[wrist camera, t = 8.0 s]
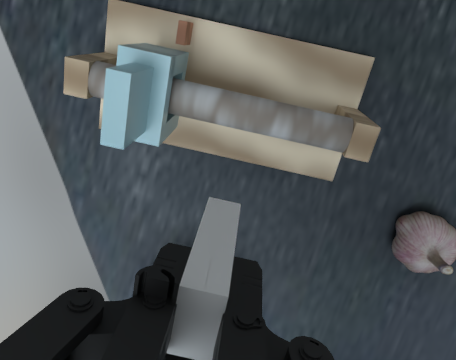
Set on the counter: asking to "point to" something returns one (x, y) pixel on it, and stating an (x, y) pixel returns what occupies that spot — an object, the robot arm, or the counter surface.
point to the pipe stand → (245, 91)
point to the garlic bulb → (425, 243)
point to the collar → (140, 95)
